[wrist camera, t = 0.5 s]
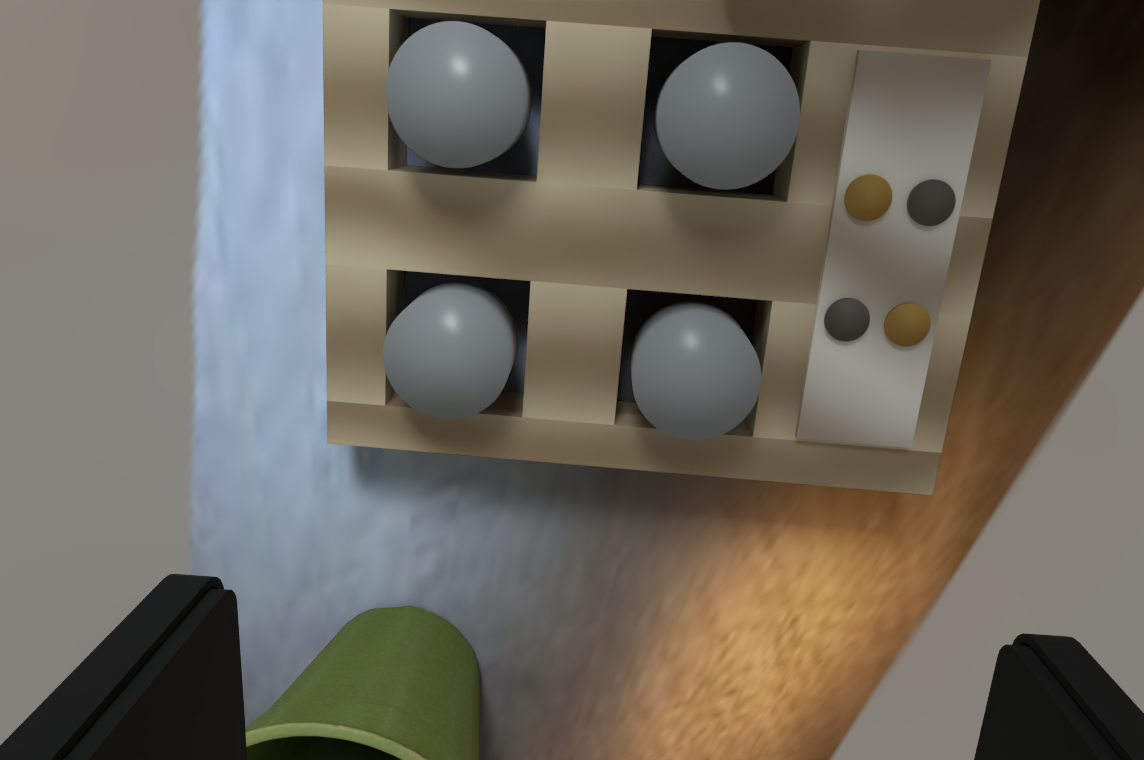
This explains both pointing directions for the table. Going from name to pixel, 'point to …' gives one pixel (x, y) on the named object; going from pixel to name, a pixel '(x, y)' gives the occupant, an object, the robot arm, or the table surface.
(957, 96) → the board
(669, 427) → the button
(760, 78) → the button
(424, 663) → the plant pot
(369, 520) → the table surface
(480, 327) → the button
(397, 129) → the button
